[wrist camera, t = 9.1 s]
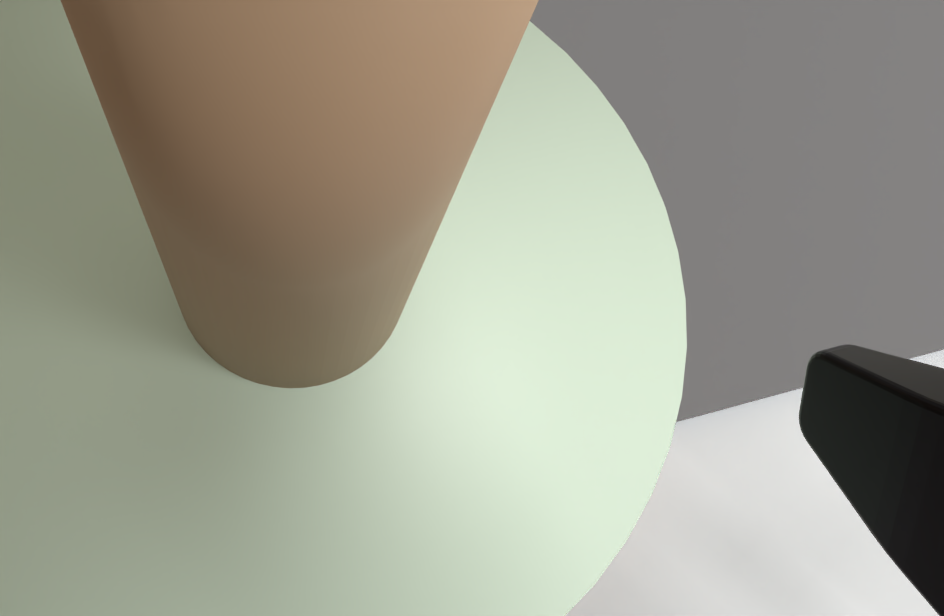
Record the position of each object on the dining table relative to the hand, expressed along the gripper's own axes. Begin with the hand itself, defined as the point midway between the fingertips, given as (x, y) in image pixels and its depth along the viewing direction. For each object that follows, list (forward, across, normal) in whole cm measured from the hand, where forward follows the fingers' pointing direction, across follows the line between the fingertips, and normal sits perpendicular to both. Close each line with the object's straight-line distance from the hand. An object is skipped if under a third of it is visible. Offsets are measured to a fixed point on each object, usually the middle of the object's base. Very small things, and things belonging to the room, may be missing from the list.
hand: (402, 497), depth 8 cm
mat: (+14, -16, +2) cm, 22 cm away
